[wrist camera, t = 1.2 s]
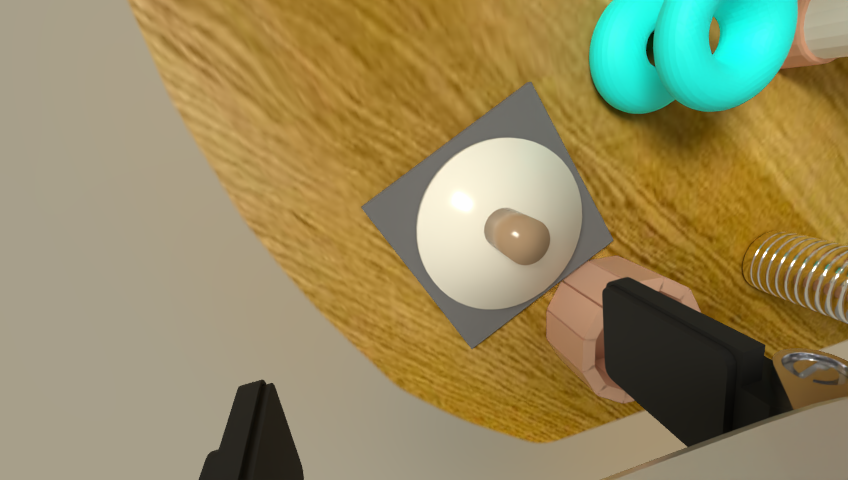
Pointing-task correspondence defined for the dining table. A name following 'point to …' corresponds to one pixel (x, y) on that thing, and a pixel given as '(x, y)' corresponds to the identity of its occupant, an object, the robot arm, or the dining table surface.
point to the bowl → (597, 318)
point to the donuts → (689, 52)
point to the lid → (498, 222)
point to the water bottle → (800, 271)
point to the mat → (403, 197)
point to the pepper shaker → (819, 33)
